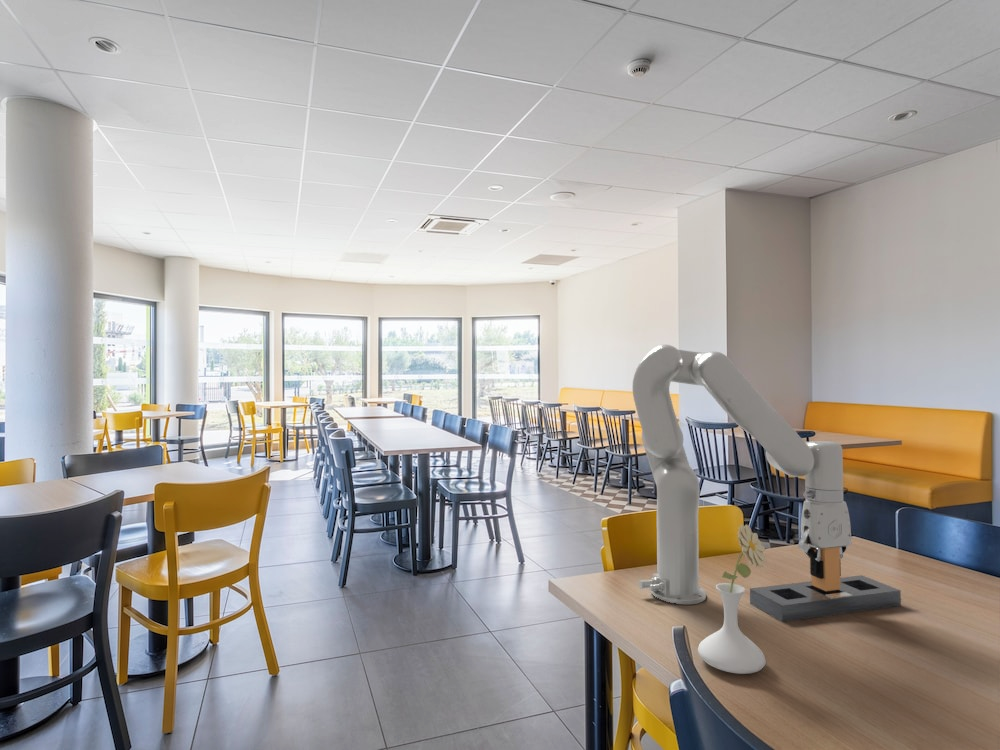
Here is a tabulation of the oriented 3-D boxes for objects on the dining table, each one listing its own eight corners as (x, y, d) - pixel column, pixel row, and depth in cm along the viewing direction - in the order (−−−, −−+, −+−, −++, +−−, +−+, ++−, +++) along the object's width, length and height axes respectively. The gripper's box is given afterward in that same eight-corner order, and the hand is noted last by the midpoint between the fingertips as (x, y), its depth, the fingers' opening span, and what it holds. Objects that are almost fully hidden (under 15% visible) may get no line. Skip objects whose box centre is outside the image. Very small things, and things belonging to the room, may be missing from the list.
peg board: (782, 622, 118) (782, 604, 118) (750, 603, 128) (749, 587, 128) (900, 605, 126) (900, 589, 126) (861, 589, 136) (861, 574, 136)
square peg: (825, 591, 125) (824, 546, 125) (811, 584, 128) (810, 541, 129) (840, 589, 126) (839, 544, 126) (825, 583, 129) (825, 540, 130)
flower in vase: (732, 687, 93) (730, 538, 94) (684, 656, 104) (683, 522, 104) (787, 670, 99) (786, 529, 99) (736, 642, 109) (735, 515, 109)
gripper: (806, 501, 122) (808, 585, 121) (867, 496, 126) (869, 577, 126) (781, 494, 129) (782, 574, 129) (839, 490, 133) (841, 566, 133)
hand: (825, 574), depth 127 cm, fingers closed on square peg, 4 cm apart
